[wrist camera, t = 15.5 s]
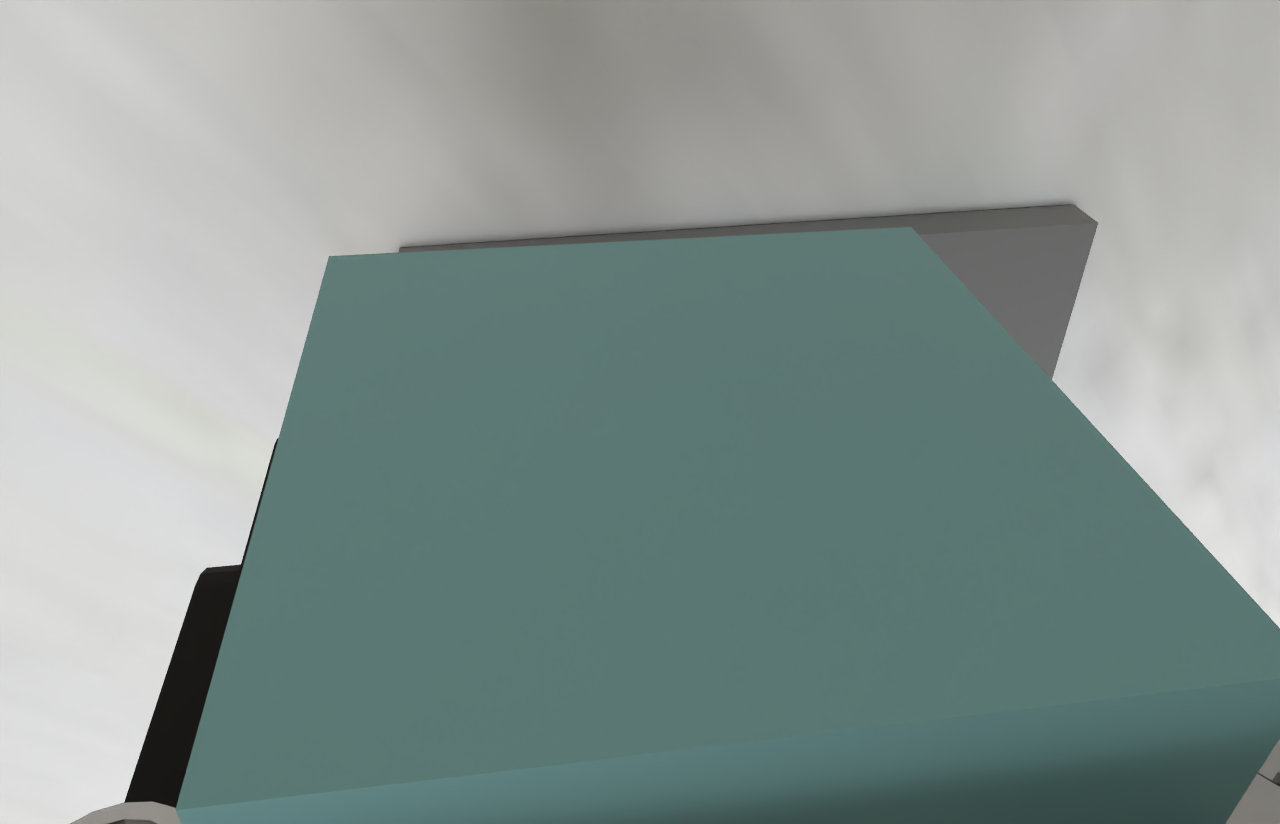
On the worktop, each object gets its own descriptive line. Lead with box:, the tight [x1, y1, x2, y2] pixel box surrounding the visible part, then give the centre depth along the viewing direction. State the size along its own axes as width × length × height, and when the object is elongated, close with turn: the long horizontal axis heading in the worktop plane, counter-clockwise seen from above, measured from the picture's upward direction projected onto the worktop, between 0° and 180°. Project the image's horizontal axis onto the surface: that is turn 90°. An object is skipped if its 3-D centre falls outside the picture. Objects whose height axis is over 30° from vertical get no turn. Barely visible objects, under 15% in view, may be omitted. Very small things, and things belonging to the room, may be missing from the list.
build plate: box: [399, 205, 1098, 380], centre depth 34 cm, size 22×14×2 cm, turn 90°
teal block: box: [175, 227, 1280, 824], centre depth 9 cm, size 6×6×6 cm
